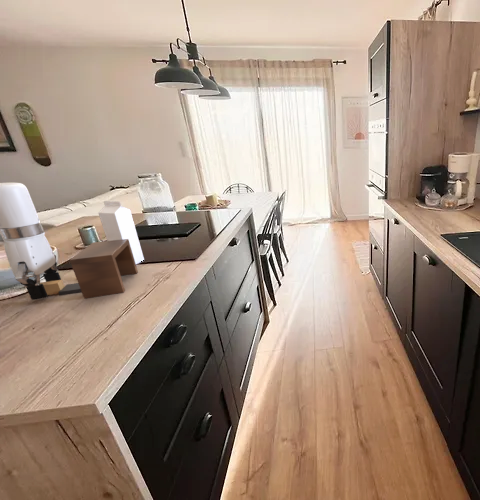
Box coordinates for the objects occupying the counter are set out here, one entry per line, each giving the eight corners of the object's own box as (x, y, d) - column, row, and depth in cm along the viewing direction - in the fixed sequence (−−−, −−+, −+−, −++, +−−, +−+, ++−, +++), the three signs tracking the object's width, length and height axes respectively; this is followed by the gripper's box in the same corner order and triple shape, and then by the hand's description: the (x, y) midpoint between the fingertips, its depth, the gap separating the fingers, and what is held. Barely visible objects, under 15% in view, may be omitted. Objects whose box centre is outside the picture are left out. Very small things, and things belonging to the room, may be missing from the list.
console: (84, 298, 78) (69, 259, 74) (104, 276, 91) (92, 242, 87) (123, 292, 81) (111, 254, 77) (138, 271, 94) (128, 238, 90)
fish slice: (31, 299, 78) (26, 289, 77) (41, 291, 82) (37, 281, 81) (86, 291, 82) (82, 281, 81) (93, 283, 86) (89, 274, 85)
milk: (130, 267, 98) (111, 203, 90) (115, 266, 99) (94, 203, 91) (144, 260, 103) (127, 199, 96) (129, 259, 104) (111, 199, 96)
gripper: (24, 224, 81) (47, 281, 87) (-23, 243, 66) (10, 310, 72) (58, 222, 83) (78, 276, 90) (20, 239, 68) (48, 304, 74)
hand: (48, 291), depth 81 cm, fingers open, 7 cm apart
